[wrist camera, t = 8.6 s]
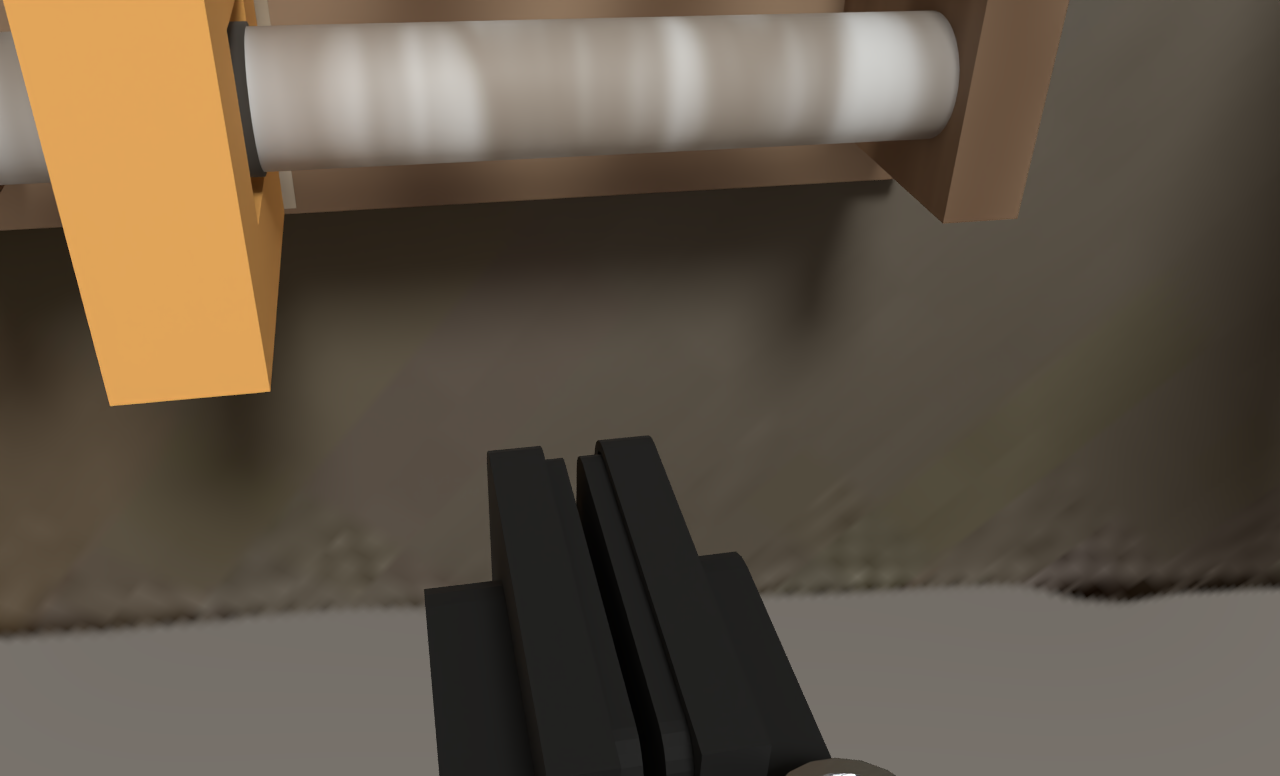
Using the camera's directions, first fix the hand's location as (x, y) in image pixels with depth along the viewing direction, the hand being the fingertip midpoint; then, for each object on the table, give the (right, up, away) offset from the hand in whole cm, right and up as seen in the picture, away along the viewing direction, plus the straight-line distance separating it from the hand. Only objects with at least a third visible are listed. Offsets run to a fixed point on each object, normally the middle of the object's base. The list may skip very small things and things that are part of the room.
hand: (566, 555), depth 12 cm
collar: (-10, +10, +15) cm, 21 cm away
